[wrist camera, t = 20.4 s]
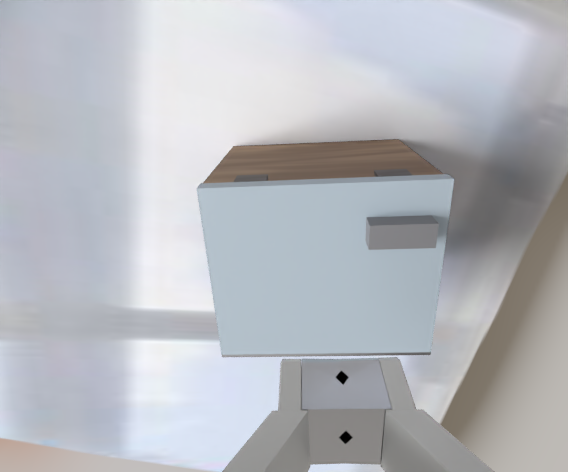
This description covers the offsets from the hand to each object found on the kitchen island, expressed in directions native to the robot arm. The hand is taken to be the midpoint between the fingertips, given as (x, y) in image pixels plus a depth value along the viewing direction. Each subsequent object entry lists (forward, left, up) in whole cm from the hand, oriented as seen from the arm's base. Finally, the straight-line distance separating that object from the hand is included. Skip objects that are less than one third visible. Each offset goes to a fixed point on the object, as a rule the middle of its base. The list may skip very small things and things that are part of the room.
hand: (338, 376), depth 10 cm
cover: (+3, 0, -10) cm, 10 cm away
